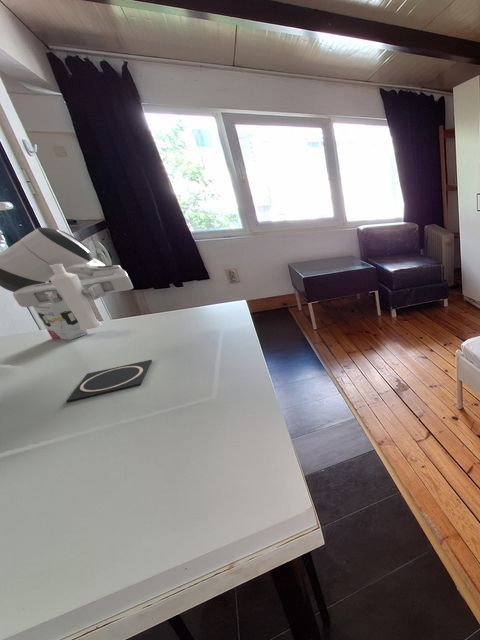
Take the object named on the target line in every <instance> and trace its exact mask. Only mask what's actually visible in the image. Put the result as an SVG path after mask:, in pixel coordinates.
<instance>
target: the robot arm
mask: <svg viewBox="0 0 480 640" xmlns="http://www.w3.org/2000/svg"><path fill="white" fill-rule="evenodd" d="M54 264H63V267H64V269H65V271H66V272H67V273H72V274H77V276H78V278H79V280H80V283H81V285H82V287H83V291H84V293H85V294H86V297H87V299H88V301H89V302H92V301H95V300H98V299H100V298H104V297H106V296H109V295H112V294H115V293H119V292H124V291H130V290H133V289H134V285H133V283H132V281H131V278H130V276H129V275H128V273H127V271H126V270H125V269H123V268H122V267H121V265H119V264H115V265H113V264H111V265H106V264H105V263H104V262H102V261H100V259H97V258H94V256H93V253H92V251H91V249H90V248H89V247H87V246H86V244H84V243H83V242H82V241H81V240H79V239H77V238H76V237H75V236H73V235H71V234H69V233H67V232H65V231H63V230H61V229H56V228H51V227H38V228H36V229H34V230H33V231H31V232H30V233H28V234H26V235H24V237H22V238H20V240H18V241H16V242H15V243H13V244H12V245H10V246H9V247H7V248H6V249H4V250H2V251H0V287H1V288H3V289H4V290H6V291H9V292H12V296H13V298H14V299H15V301H16V303H17V304H18V305H19V306H20V307H22V308H30V307H33V306H37V305H43V304H48V303H57V302H61V301H64V300H63V298H62V297H61V295H60V294H59V292H58V291H57V289H56V288H55V286H54V285H53V284H52V282H51V281H50V279H49V278H51V277H52V276H53V275H55V273H54V272H53V270H52V268H51V267H50V265H54Z"/></svg>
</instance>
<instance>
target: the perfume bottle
mask: <svg viewBox="0 0 480 640" xmlns="http://www.w3.org/2000/svg"><path fill="white" fill-rule="evenodd" d="M50 267H51V268H52V270H53V272H54V273H55V275H53V276H52V277H51V278H49V279H50V281H49V282H52V284H53V285H54V286H55V288H56V289H57V291H58V292H59V294H60V295H61V297H62V298H63V300H64V301H65V303H66V304H67V306H68V307H69V309H70V310H71V312H72V313H73V315H74V316H75V317H76V319H77V320H78V322H79V326H80V329H81V330H86V331H88V330H92V329H96V328H98V327H100V326H101V325H102V322H100V321H99V320H98V319H97V318H96V315H95V313H94V310H93V308H92V306H91V303H90V301H88V299H87V297H86V294H85V293H84V291H83V287H82V285H81V283H80V280H79V278H78V276H77V274H72V273H67V272H66V271H65V269H64V267H63V264H54V265H50Z"/></svg>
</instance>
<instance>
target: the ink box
mask: <svg viewBox="0 0 480 640" xmlns="http://www.w3.org/2000/svg"><path fill="white" fill-rule="evenodd" d="M32 308H33V309H34V311H35V313H36V314H37V316H38V319H40V321H41V323H42V324H43V326H44V327H45V329H46V331H47V332H48V334H49V336H50V337H51V339H57V340H67V341H68V340H70V341H72V340H74V339H77V338H80V337H83V336H85V335H88V334H89V332H88V330H81V329H80V326H79V322H78V320H77V319H76V317H75V316H74V315H73V313H72V312H71V310H70V309H69V307H68V306H67V304H66V303H65V301H61V302H57V303H48V304H43V305H37V306H32Z"/></svg>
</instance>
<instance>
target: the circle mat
mask: <svg viewBox="0 0 480 640" xmlns="http://www.w3.org/2000/svg"><path fill="white" fill-rule="evenodd" d="M152 362H153V360H152V359H147V360H143V361H139V362H134V363H129V364H125V365H120V366H115V367H111V368H106V369H101V370H97V371H93V372H88V373H86V375H85V376H84V377H83V379H82V380H81V381H80V382H79V384H78V385H77V386H76V387H75V389H74V390H73V392H72V393H71V394H70V395H69V397H68V398H67V399H66V403H71V402H75V401H76V402H77V401H79V400H83V399H88V398H92V397H96V396H101V395H104V394H108V393H112V392H117V391H121V390H126V389H130V388H133V387H139V386H141V385H142V383H143V381H144V379H145V377H146V375H147V373H148V370H149V369H150V366H151V364H152Z"/></svg>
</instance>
